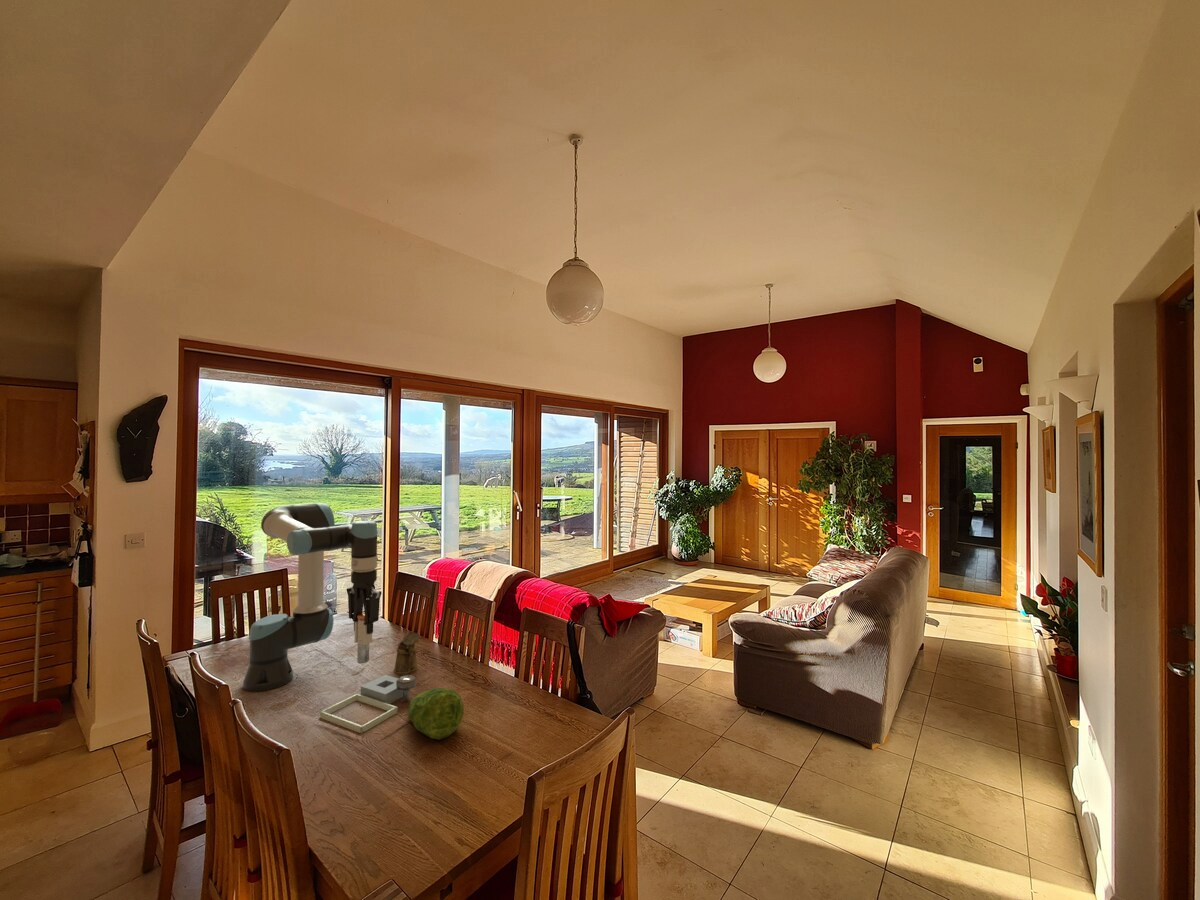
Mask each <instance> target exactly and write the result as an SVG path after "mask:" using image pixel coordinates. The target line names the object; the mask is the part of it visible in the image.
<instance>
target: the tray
mask: <svg viewBox="0 0 1200 900" xmlns="http://www.w3.org/2000/svg"><path fill="white" fill-rule="evenodd" d="M355 701H358V702H360V703H364V704H366V705H370V706H372V707H375V708H378V709H381V710H385V711H386V712H384V713H382V714H381V715H378V716H377V717H375V718H374V719H371V720H369V721H367V722H366V723H365V724H358V723H355V722H353V721H350V720H347V719H344V718H343V717H339V716H337V715H334V714H332V713H335V712H336V711H339V710H340V709H342V708H344V707H346V706H349V705H351V704H353V703H354V702H355ZM319 714H320V715H319V717H320V719H323V720H320V719H319V720H320V722H322V723H325V724H328V725H330V726H333V727H336V728H338V729H341V730H344V731H345V732H349V733H352V734H353V735H356V736H360V737H361V738H362V737H363V736H362V735H360V734H363V733H364V732H366V731H368V730H370V729H372V728H373V727H375V726H377V725H378V724H381V723H382V722H384V721H385V720H387V719H389V718H391V717H392V716H394V715H396V714H398V706H396V705H393V704H387V703H384V702H381V701H378V700H375V699H372V698H369V697H366V696H363V695H361V693H356V694H354V695H352V696H350V697H347V698H345V699H343V700H342V701H341V700H340V701H339V702H337V703H335V704H333V705H331V706H329V707H327V708H325V709H323V710H321V711H320V712H319ZM324 720H325V721H324ZM326 721H328V722H331V723H333V724H331V723H328V722H326ZM334 724H335V725H334ZM337 725H339V726H341V727H344V728H346V729H344V728H341V727H338V726H337ZM347 729H348V730H347ZM349 730H352V731H354V732H352V731H349ZM355 732H356V733H355ZM357 733H359V734H357Z"/></svg>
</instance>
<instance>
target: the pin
mask: <svg viewBox="0 0 1200 900" xmlns="http://www.w3.org/2000/svg"><path fill="white" fill-rule="evenodd" d="M357 619H358V642H357V652H356V653H357V654H356V655H357V656H356V657H357V658H356V659H357V660H356V661H357V663H358V664H366V663H369V661H370V643H369V644H366V645H363V626H364V623H366V622H365V613H364V612H362V613H361V614H358V615H357ZM369 620H370V619H369Z"/></svg>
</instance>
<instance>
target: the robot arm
mask: <svg viewBox="0 0 1200 900" xmlns="http://www.w3.org/2000/svg"><path fill="white" fill-rule="evenodd" d="M333 512H334V511H333V510H332V508H331V506H330V505H329V504H327V503H326V502H325V503H324V502H323V503H321V502H311V503H310V502H309V503H297V504H285V505H280V506H276V507H274V508H272V509H270V510H269V511H268V512H267V513H265V514H264V516H263V517H262V519H261V522H260V523H261V524H260V527H261V530H262V532H263V533H264V534H265V535H266V536H268V537H269V538H273V539H280V540H282V541H283V542H285V543H286V547H287V550H288V553H289V554H291V555H298V559H297V560H298V563H297V565H298V567H297V568H298V569H297V572H298V573H297V606H295V608H293V610H292V615H291V616H289V615H288V614H287V613H278V614H277V613H274V614H271V615H267V616H264V617H262V618H260V619H257V620H256V621H254V622H253V624H251V626H250V629H249V637H248V638H249V665H248V667H247V669H246V670H247V671H246V673H245V675H244V679H243V681H242V686H243V687H242V689H243V690H245V691H247V692H265V691H269V690H273V689H278V688H279V687H282V686H284V685H287V683H289V682H291V681H292V680H293V674H294V670H293V667H292V666H291V663H290V659H289V657H288V650H290V649H294V648H299V647H302V646H306V645H310V644H315V643H318V642H321V641H324V640H327V639H328V638H329V636H331V634H332V632H333V629H334V614H333V611H332V609H330V608H329V607H328V604H327V603H325V602H324V578H325V576H324V575H325V574H324V572H325V571H324V569H325V567H324V565H325V561H324V560H325V554H324V553H325V551H334V550H340V549H341V550H342V549H350V550H351V552H350V554H351V559H350V561H351V563H350V564H351V565H350V566H351V568H350V569H351V572H350V582H351V584H352V587H351V586H350V587H347V588H346V593H347V600H348V602H347V605H348V618H349V620H351V619H352V622H353V631H354V640H353V641H354V643H355V644H358V619H357V615H358V614H361V613H365V622H366V623H364V626H363V645H366V644H369V645H370V644H371V643H373V634H374V623H376V622H378V621H379V619H380V616H379V615H380V605H381V604H380V603H381V601H380V599H381V597H382V591H381V590H379V591H378V590H377V589H376V586H375V582H376V581H377V578H378V576H377V575H378V574H377V573H378V570H377V569H376V568H377V567H378V524H377V522H376V521H374V520H360V521H359V520H358V521H354V522H352V523H343V524H341V525H335V521H336V520H335V517H334V513H333ZM369 619H370V620H369Z"/></svg>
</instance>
